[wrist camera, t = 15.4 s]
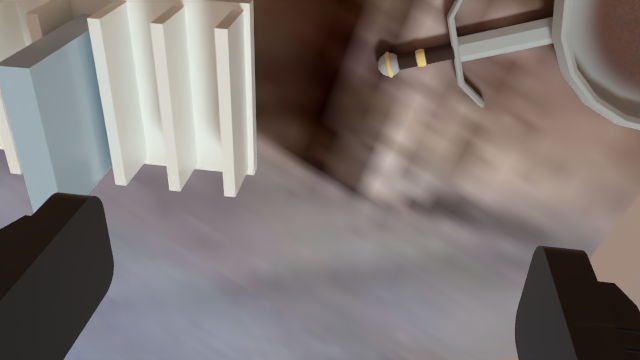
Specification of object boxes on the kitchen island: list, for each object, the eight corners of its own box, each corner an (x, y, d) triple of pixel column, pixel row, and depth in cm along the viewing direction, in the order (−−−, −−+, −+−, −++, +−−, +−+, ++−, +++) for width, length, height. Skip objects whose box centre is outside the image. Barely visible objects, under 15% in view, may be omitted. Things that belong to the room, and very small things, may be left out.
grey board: (82, 13, 40) (-6, 65, 32) (110, 16, 40) (29, 68, 31) (105, 143, 45) (34, 217, 37) (130, 145, 45) (65, 220, 37)
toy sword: (345, -60, 35) (931, -216, 27) (350, -68, 37) (889, -213, 30) (402, 183, 43) (866, 115, 35) (403, 163, 45) (837, 95, 38)
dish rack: (-50, -23, 41) (-103, -5, 37) (253, -1, 39) (233, 21, 35) (-4, 142, 48) (-44, 173, 44) (257, 168, 46) (241, 203, 42)
